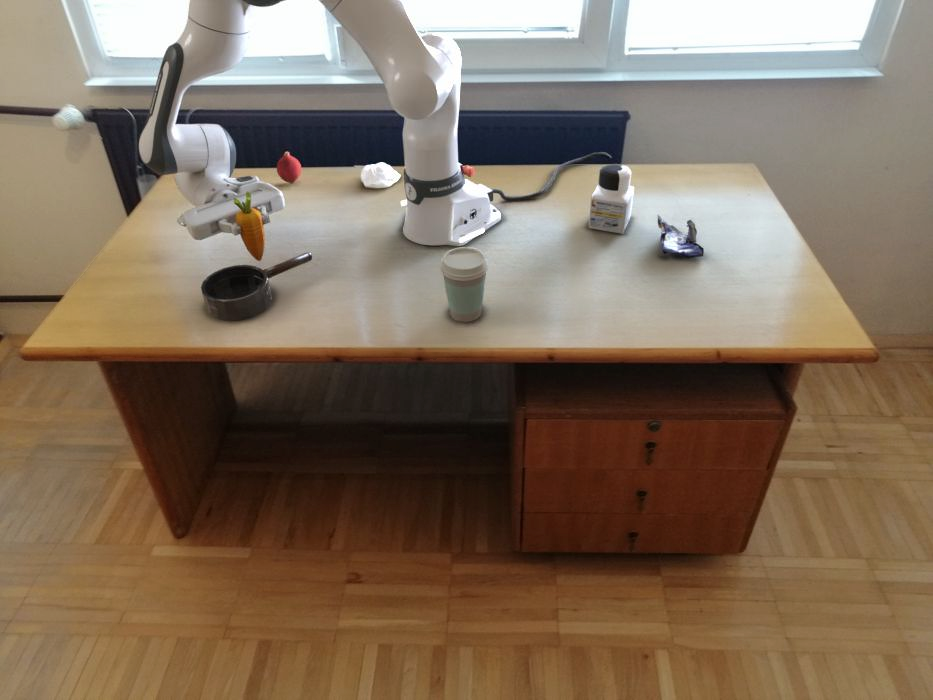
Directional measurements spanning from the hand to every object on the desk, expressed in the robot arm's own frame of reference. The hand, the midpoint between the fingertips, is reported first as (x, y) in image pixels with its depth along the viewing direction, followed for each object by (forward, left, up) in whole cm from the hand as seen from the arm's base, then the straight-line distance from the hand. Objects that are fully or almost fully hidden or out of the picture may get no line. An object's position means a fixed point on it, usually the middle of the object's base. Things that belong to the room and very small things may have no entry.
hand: (252, 225), depth 142 cm
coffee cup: (-21, +40, -10) cm, 46 cm away
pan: (+9, +8, -10) cm, 16 cm away
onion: (-24, -30, -10) cm, 40 cm away
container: (-66, +36, -10) cm, 76 cm away
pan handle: (-2, +8, -7) cm, 11 cm away
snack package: (-69, +52, -10) cm, 87 cm away
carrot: (0, -1, -9) cm, 9 cm away
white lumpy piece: (-41, -16, -10) cm, 45 cm away
